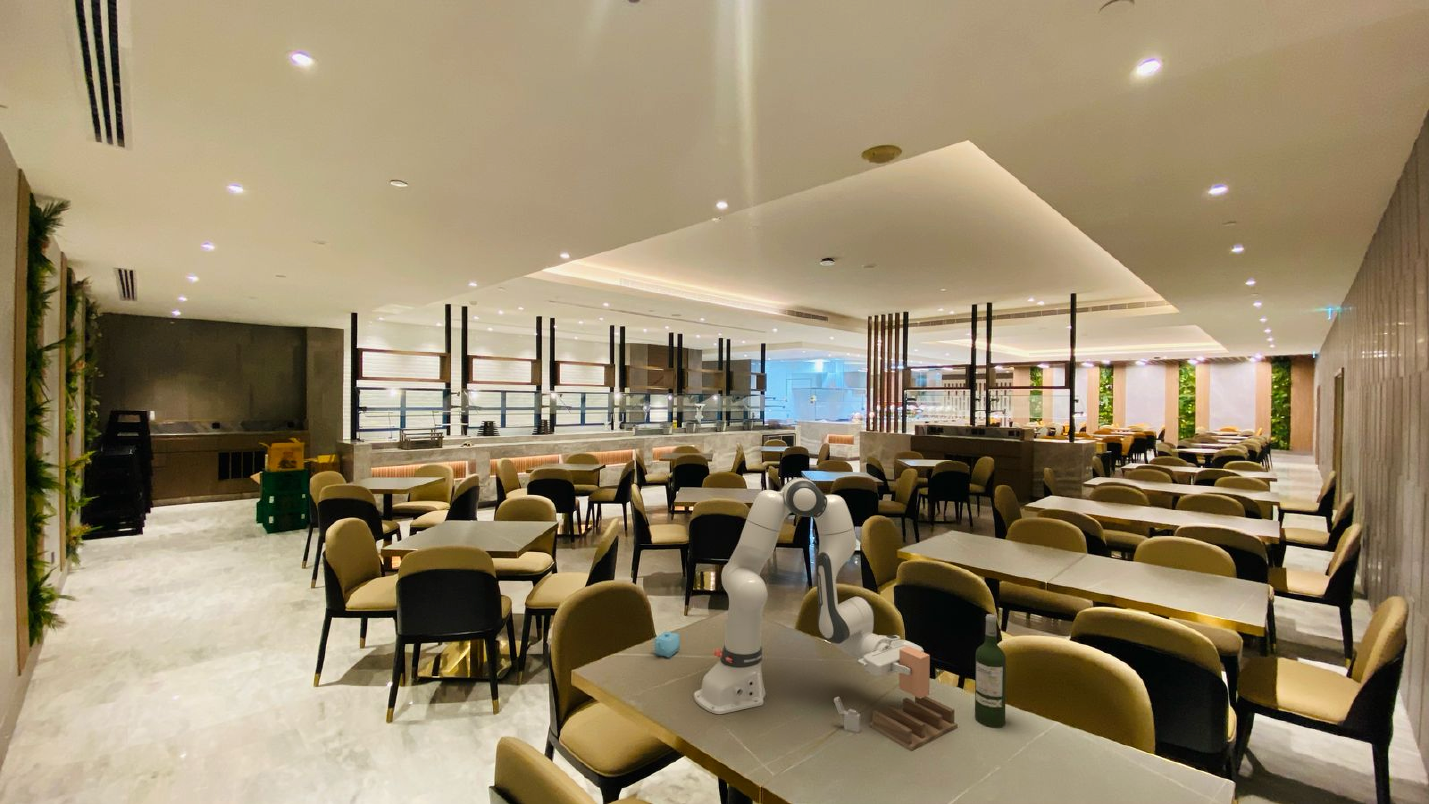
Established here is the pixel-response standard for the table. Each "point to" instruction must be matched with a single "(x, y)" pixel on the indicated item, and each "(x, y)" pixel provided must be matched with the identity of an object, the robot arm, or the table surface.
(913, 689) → the salmon rectangular prism
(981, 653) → the wine bottle
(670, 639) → the light blue toy brick
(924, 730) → the rack
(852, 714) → the lighter
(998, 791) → the table surface
